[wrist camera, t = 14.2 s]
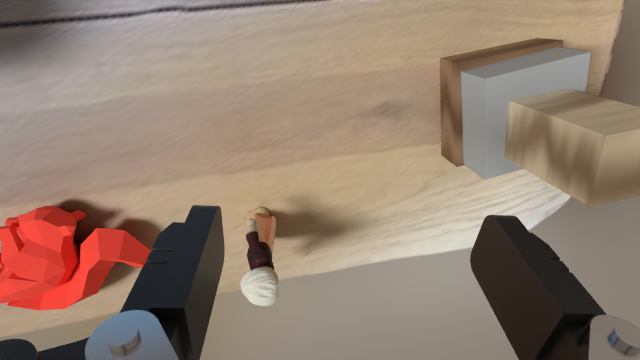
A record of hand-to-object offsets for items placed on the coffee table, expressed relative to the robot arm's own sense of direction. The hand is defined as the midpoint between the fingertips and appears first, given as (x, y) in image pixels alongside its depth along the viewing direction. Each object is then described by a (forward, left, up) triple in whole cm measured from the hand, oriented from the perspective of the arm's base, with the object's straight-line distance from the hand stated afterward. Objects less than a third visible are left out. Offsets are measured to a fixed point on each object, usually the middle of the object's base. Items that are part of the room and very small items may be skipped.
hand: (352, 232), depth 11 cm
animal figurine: (+12, -25, -28) cm, 40 cm away
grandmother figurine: (+15, -6, -28) cm, 32 cm away
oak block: (+8, +22, -20) cm, 31 cm away
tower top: (+7, +22, -24) cm, 33 cm away
